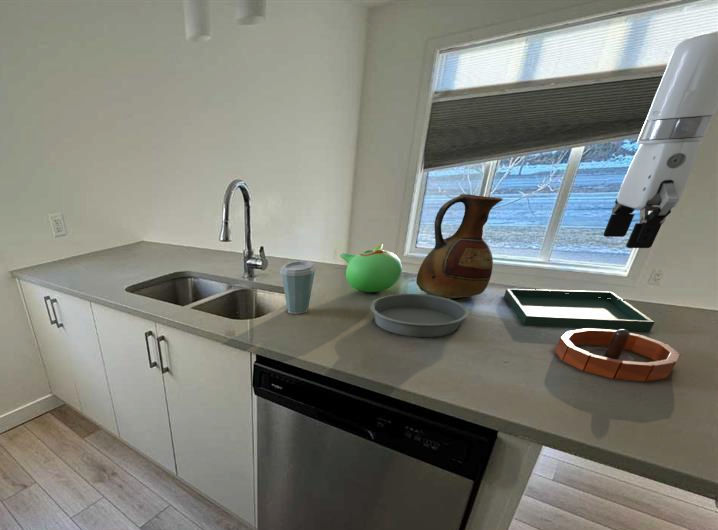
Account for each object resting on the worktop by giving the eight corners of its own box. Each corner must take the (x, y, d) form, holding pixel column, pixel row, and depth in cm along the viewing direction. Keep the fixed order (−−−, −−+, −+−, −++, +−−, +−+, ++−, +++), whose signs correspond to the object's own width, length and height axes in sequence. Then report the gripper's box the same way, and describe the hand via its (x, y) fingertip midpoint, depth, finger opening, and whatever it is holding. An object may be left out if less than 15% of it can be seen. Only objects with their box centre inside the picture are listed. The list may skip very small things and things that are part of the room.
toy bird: (359, 301, 133) (364, 256, 125) (334, 287, 147) (338, 246, 140) (408, 293, 135) (416, 248, 128) (379, 280, 150) (385, 239, 142)
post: (623, 354, 90) (638, 324, 87) (639, 369, 84) (655, 337, 81) (583, 351, 93) (595, 322, 89) (595, 365, 87) (609, 335, 83)
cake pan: (419, 348, 101) (422, 331, 98) (350, 319, 120) (352, 304, 118) (486, 326, 109) (490, 310, 106) (411, 302, 128) (414, 288, 126)
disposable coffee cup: (298, 319, 124) (300, 270, 116) (272, 311, 131) (272, 265, 124) (320, 309, 129) (323, 262, 122) (294, 302, 137) (295, 257, 129)
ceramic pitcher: (496, 304, 121) (527, 195, 106) (424, 305, 125) (444, 200, 110) (470, 284, 138) (494, 188, 123) (407, 286, 141) (423, 193, 126)
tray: (608, 300, 117) (612, 291, 115) (649, 332, 98) (654, 322, 97) (503, 296, 126) (506, 288, 124) (523, 325, 107) (526, 316, 106)
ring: (643, 345, 93) (650, 331, 91) (691, 385, 78) (700, 369, 76) (545, 339, 99) (551, 326, 97) (572, 375, 84) (579, 360, 83)
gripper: (741, 129, 57) (678, 253, 65) (674, 130, 70) (630, 232, 79) (670, 134, 59) (619, 252, 68) (619, 134, 73) (582, 232, 82)
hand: (625, 241), depth 74 cm, fingers open, 9 cm apart
